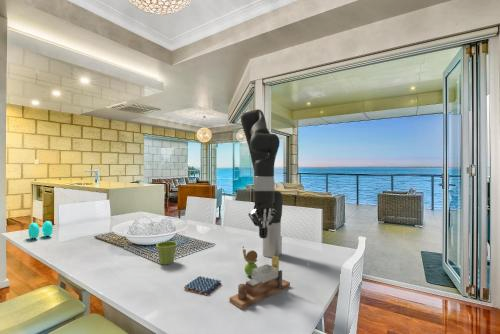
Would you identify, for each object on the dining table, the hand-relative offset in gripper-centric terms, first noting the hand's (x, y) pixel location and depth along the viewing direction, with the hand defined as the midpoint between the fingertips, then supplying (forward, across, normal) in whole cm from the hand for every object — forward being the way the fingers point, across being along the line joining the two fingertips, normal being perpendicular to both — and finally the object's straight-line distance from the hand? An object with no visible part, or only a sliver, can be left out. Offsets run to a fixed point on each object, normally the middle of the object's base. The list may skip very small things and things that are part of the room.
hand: (263, 237), depth 88 cm
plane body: (+20, 0, 0) cm, 20 cm away
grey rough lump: (+14, -1, 0) cm, 14 cm away
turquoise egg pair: (+20, +56, -140) cm, 152 cm away
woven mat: (+20, +13, -18) cm, 30 cm away
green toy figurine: (+20, -7, -14) cm, 25 cm away
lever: (+13, -7, 0) cm, 15 cm away
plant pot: (+20, +14, -50) cm, 55 cm away
